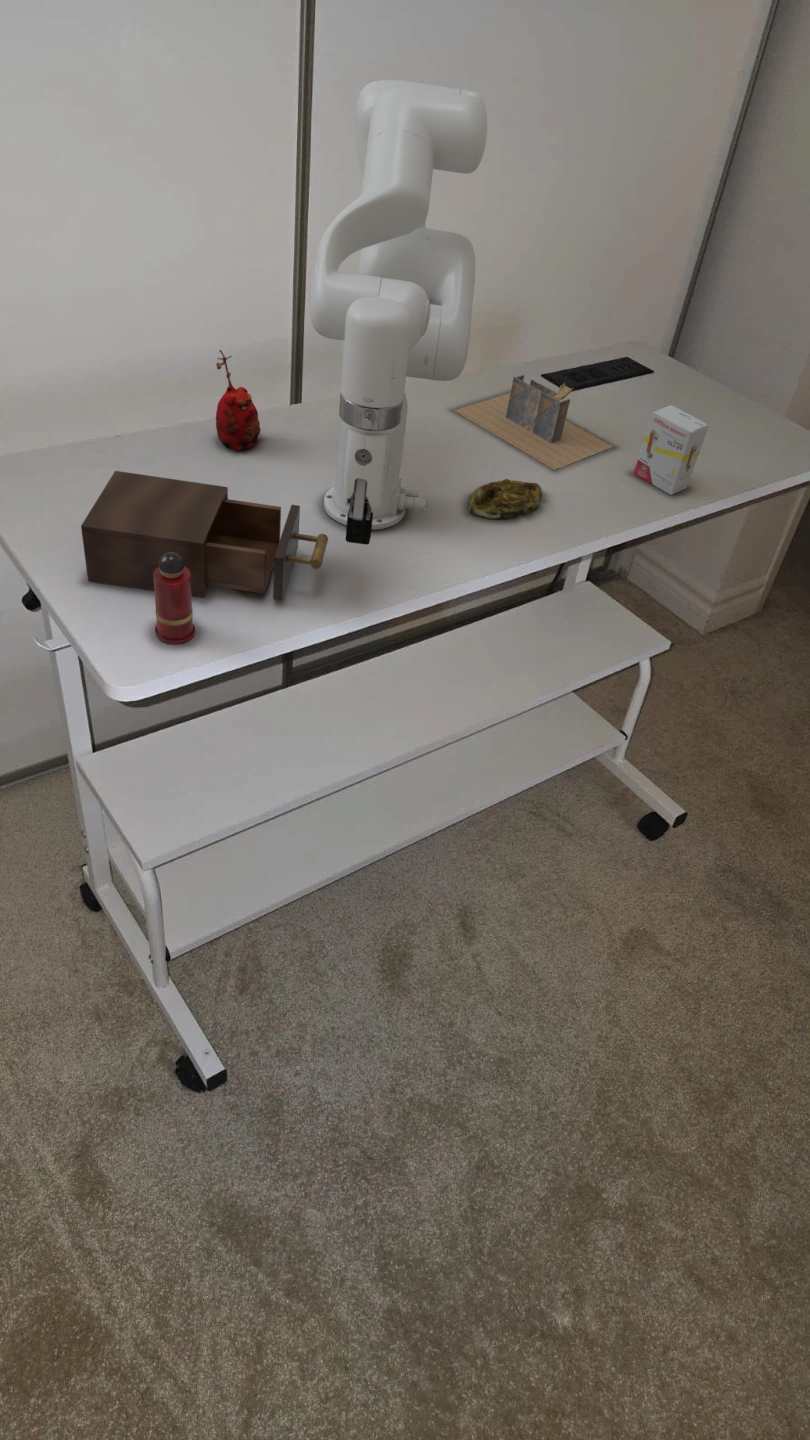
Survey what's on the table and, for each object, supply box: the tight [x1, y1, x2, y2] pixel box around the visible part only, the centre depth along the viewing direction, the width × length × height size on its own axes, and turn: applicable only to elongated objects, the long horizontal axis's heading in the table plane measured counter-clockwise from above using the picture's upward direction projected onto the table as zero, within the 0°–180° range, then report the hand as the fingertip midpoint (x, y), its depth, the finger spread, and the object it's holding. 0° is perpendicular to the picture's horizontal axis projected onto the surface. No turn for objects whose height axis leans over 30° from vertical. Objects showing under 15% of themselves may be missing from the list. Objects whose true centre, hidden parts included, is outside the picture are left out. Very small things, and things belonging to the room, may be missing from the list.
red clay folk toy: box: [215, 349, 261, 452], centre depth 154 cm, size 8×7×15 cm
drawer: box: [205, 498, 329, 602], centre depth 130 cm, size 19×13×7 cm
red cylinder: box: [153, 552, 196, 646], centre depth 118 cm, size 5×5×12 cm
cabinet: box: [80, 470, 229, 599], centre depth 130 cm, size 16×14×9 cm
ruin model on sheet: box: [453, 374, 614, 471], centre depth 172 cm, size 25×16×10 cm, turn 42°
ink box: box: [633, 405, 709, 496], centre depth 163 cm, size 9×5×12 cm, turn 41°
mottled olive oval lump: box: [468, 478, 543, 521], centre depth 154 cm, size 9×5×15 cm
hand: (357, 539), depth 128 cm, fingers closed
